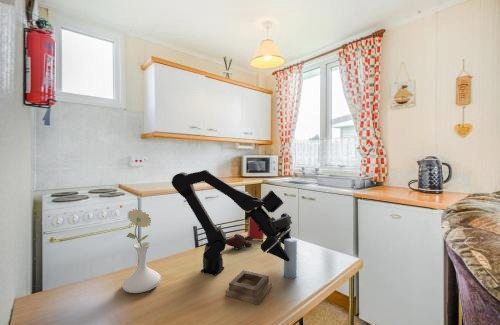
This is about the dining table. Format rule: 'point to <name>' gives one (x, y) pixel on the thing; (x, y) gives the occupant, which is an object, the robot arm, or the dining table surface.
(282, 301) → the dining table surface
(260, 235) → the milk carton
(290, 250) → the blue-gray capsule
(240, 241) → the dark red lobed figurine
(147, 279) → the flower in vase
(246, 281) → the socket base
